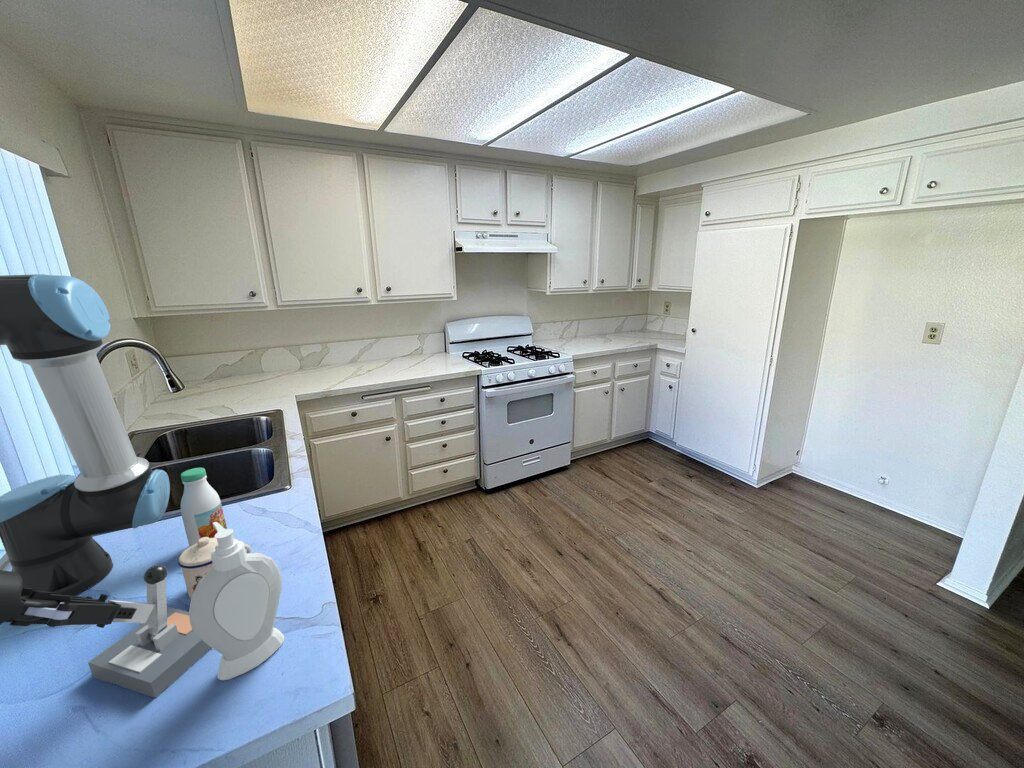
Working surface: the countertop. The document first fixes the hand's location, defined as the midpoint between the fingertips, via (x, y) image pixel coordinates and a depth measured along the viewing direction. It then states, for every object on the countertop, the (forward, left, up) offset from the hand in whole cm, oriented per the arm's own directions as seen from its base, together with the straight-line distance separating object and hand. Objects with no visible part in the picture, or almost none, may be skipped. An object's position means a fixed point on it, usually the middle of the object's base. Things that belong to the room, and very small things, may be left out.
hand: (146, 613), depth 67 cm
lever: (0, +1, -5) cm, 6 cm away
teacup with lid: (0, +18, -10) cm, 20 cm away
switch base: (0, +1, -9) cm, 9 cm away
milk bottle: (-11, +32, -10) cm, 35 cm away
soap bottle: (+15, -1, -10) cm, 18 cm away
